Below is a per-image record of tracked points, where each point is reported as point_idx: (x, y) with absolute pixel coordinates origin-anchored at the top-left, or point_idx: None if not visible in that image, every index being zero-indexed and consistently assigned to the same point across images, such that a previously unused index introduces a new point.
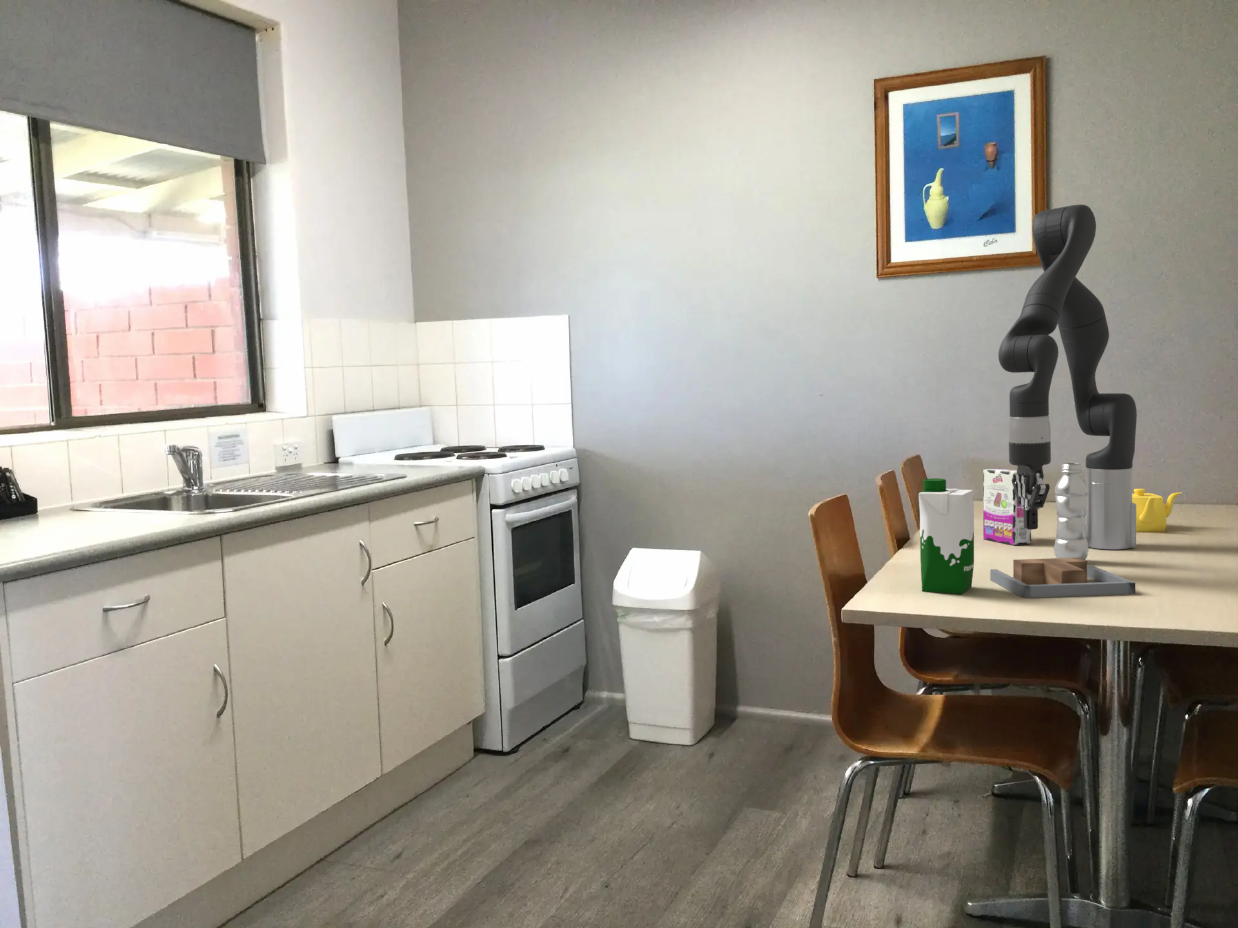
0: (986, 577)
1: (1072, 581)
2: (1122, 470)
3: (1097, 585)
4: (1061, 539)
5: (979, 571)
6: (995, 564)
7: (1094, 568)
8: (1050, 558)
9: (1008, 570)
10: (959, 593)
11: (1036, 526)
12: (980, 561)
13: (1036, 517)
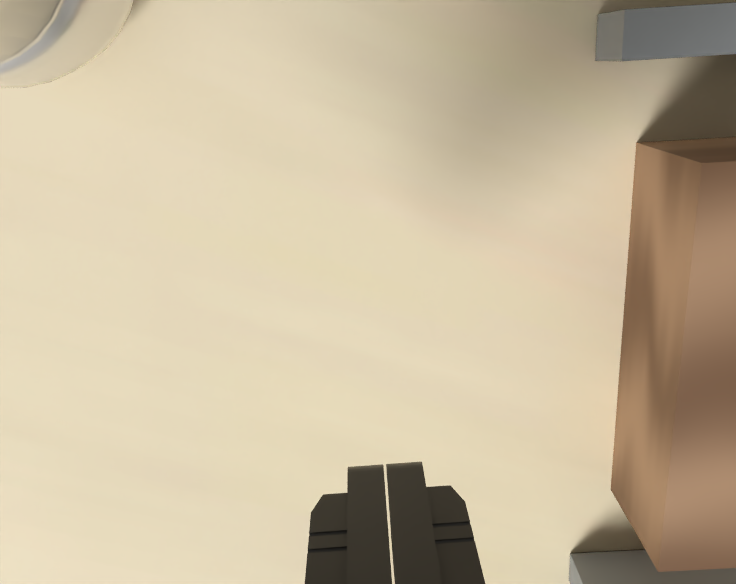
0: (500, 578)
1: None
2: None
3: None
4: (15, 52)
5: None
6: (129, 451)
7: (725, 43)
8: (683, 358)
9: (323, 436)
10: None
11: (453, 491)
12: (30, 500)
13: (476, 559)
